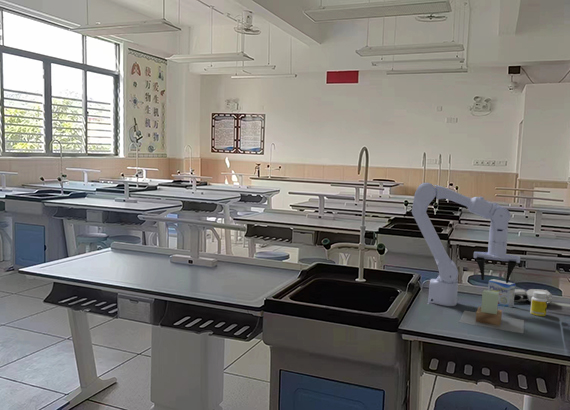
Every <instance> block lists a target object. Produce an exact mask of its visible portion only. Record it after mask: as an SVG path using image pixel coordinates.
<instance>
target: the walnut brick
mask: <svg viewBox="0 0 570 410" xmlns="http://www.w3.org/2000/svg"><path fill="white" fill-rule="evenodd" d="M475 312H476V322H480V323H486V324H492V325H498V326H500V323H501V317H503V316H502V315H503V309H497V314H491V313H484V312H481V306H478V307H477V310H476V311H475Z"/></svg>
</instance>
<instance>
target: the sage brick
mask: <svg viewBox="0 0 570 410" xmlns="http://www.w3.org/2000/svg"><path fill="white" fill-rule="evenodd" d="M481 294H482V295H481V296H482V297H481V306H480V307H481V312H484V313H491V314H497V310H499V308H498V307H499V306H498V296H499V292H495V291H488V289H487V290H486V289H483V291H482V293H481Z"/></svg>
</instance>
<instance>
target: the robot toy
mask: <svg viewBox="0 0 570 410" xmlns="http://www.w3.org/2000/svg"><path fill="white" fill-rule="evenodd" d="M533 291H542V292H545V293H547V297H546V299H547V302H550V303H551V302H552V301H553V297H552V296H553V294H552V293H551V292H549V290H548V289H538V288H537V289H534V288H530V289H528V290H527V291H526V290H525V289H517V288H515V295H514V302H517V303H518V302H519V303H520V302H526V301H527V300H528V301H529V303H531V298H532V297H533Z"/></svg>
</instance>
